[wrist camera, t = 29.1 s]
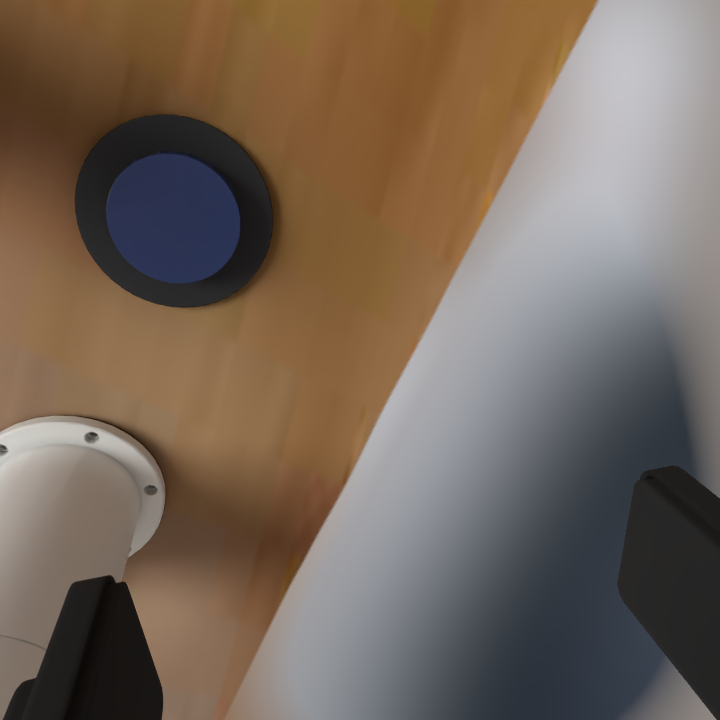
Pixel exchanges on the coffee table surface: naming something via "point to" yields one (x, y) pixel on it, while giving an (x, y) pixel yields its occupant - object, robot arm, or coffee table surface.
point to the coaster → (181, 137)
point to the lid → (174, 217)
